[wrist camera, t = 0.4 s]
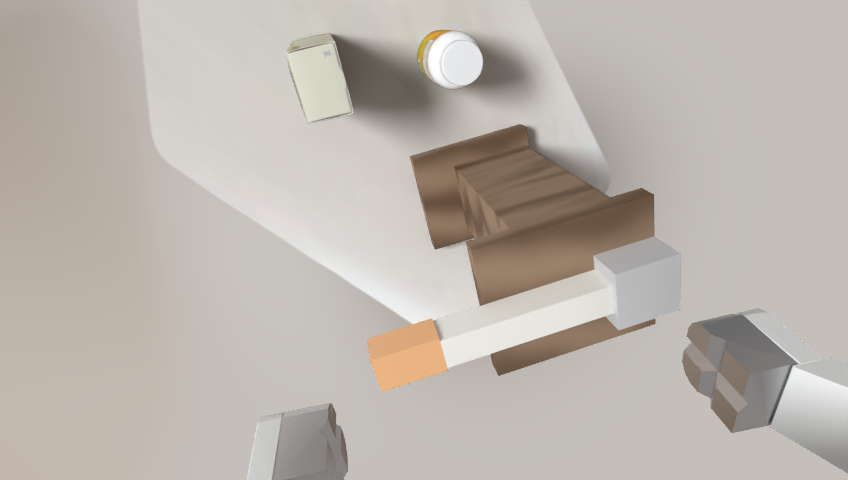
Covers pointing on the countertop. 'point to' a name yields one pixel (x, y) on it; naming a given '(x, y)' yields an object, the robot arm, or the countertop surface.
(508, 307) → the grey tan flat bar
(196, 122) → the countertop surface
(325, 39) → the skincare box
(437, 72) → the supplement bottle
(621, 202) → the stand
